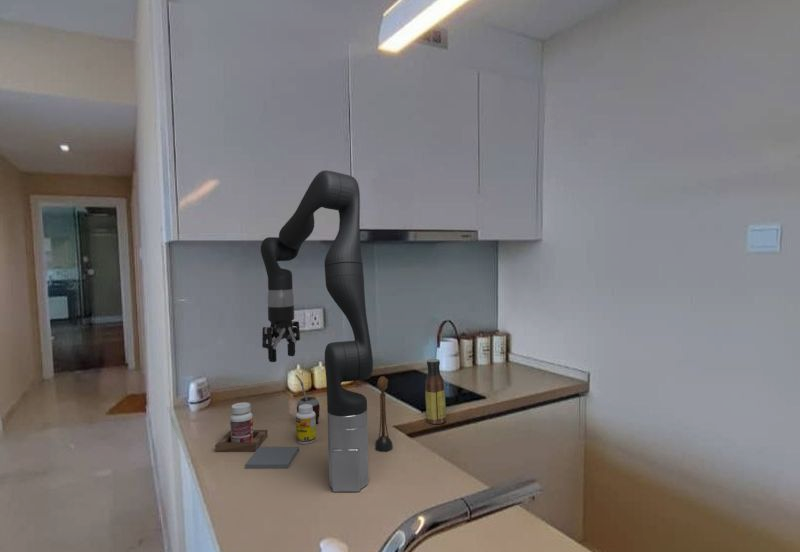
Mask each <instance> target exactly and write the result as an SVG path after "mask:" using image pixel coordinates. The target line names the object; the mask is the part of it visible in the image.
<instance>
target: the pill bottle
mask: <svg viewBox="0 0 800 552" xmlns="http://www.w3.org/2000/svg"><path fill="white" fill-rule="evenodd" d="M251 409H252V408H251V403H250V402H246V401H245V402H237V403H234V404H232V405H231V413H232V414H231V415H230V418H229V419H230V420H229V422H230V430H231V442H251V441H252V440H253V439H254V435H253V430H254V416H253V412H251Z"/></svg>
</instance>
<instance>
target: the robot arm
mask: <svg viewBox="0 0 800 552" xmlns="http://www.w3.org/2000/svg"><path fill="white" fill-rule="evenodd" d="M360 197H361V193H360V187H359V182H358V181H357V179H356V178H355V177H354V176H351V175H349V174H345V173H341V172H336V171H332V170H321V171H319V172H318V173H316V175H315V177H314V178H313V179H312V180H311V183H310V184H309V185H308V187H307V190H306V191H305V193H304V195H303V197H302V198H301V200H300V203H299V204H298V207H296V210H295V212H294V213H293V214H292V216H291V217H290V218H289V219H288V220H287V221H286V222H285V223H284V225H283V226H282V227H281V229H280V231H279V233H278V237H277V236H276V237H275V236H273V237H272V236H271V237H270V236H268V237H265V238H264V239H263V241H262V242H261V244H260V254H261V257H262V260H263V264H264V267H265V271H266V274H267V320H268V321H269V323H270V326H269V327H268V326H263V327H262V332H261V333H262V335H261V336H262V340H261V341H262V344H261V345H262V348H263V349H267V354H268V358H267V359H268V361H269V362H270V363H276V362H277V360H278V359H277V346H278V344H279V343H280V342H281V341H282V340H284V339H285V340H286V342H287V356H288V357H295V356H296V343H297V342H299V341H300V340H301V334H300V322H299V321H297V320H294V319H295V304H294V303H295V299H294V292H293V291H294V290H293V289H294V288H293V274H292V271H291V270H290V269H286V268H281V266H280V265H279V263H278V262H288V261H291V260H294V259H295V258H297V257H298V254H299V251H300V248H301V246H302V244H303V243H304V242H305V241H306V240H307V239H308V238H309V237H310V235H312V233H313V231H314V228H315V215H314V214H315V212H317V211H318V210H319V209H322V208H324V209H328V210H334V211H338V216H339V217H338V218H339V222H338V223H339V225H338V226H339V227H338V231H337V234H336V237H334V240H333V242H332V243H331V245H330V247H329V249H328V251H327V253H326V255H325V258H324V277H325V287H326V289H327V292H328V293H329V296H331V298H332V300H333V301H334V303H335V304H336V305H337V306H338V308H339V309H340V310H341V312H342V313H343V315H344V316H345V317H346V319H347V321H348V323H349V325H350V327H351V330H352V333H353V338H354V340H346V341H345V340H344V341H334V342H329V343H328V344H327V345H326V346H325V349H324V370H325V383H326V384H325V385H326V402H327V403H326V405H327V410H326V412H327V448H328V449H327V452H328V484H329V485H328V486H329V487H330V488H332V492H337V493H340V492H349V493H350V492H354V493H356V492H361V489H363V488H365V487H366V486H367V485H368V483H369V481H370V479H369V478H370V477H369V476H370V475H369V443H368V442H369V441H368V439H369V438H368V400H367V398H366V396H365V395H364V394H362V393H359V392H356V391H353V390H352V391H351V390H348V389H346V388H344V387H342V383H345V382H354V381H355V382H357V381H364V380H365V381H367V380H368V379H370V378H371V376H373V375H372V374H373V370H374V368H373V367H374V360H373V351H372V344H371V343H372V342H371V338H370V337H371V336H370V330H369V324H368V318H367V308H366V306H367V305H366V297H365V295H366V294H365V277H364V276H365V275H364V266H363V265H364V263H363V257H362V246H361V245H362V244H361V233H360V232H361V230H360V228H361V227H360V226H361V225H360V224H361V223H360V222H361V221H360V219H361V217H360V215H361V211H360V210H361V206H360V205H361V198H360Z"/></svg>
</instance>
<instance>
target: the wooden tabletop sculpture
mask: <svg viewBox="0 0 800 552" xmlns="http://www.w3.org/2000/svg"><path fill="white" fill-rule="evenodd" d="M388 384H389V379H388V378H386V377H385V376H380V377H379V378H378V379H377V384H376V386H377V388H378V390H379V391H380V394H379V404H380V405H379V406H380V407H379V408H380V412H379V413H380V419H379V432H378V438H377V439H376V441H375V444H374V449H375V451H377V452H380V453H387V452H390V451H392V450H393V448H394V446H393V442H392V440H391V438H390V437H389V433H388V426H387V414H386V413H387V411H386V410H387V409H386V395H387V394H386V393H385V391H386V390H387V389H388Z"/></svg>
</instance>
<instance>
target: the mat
mask: <svg viewBox="0 0 800 552" xmlns="http://www.w3.org/2000/svg"><path fill="white" fill-rule="evenodd" d="M299 451H300V447H299V446H259V447H258V449H257V450H256V451H255V452H253V454H252V455H251V457H250V458H249V459H248V460H247V461H246V462H245V464H244V469H289V468H290V466H291V464H292V463H293V461H294V460H295V458H296V456H297V454H298V453H299Z"/></svg>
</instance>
